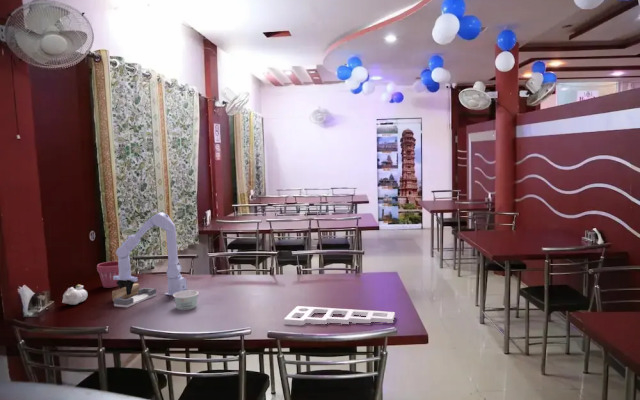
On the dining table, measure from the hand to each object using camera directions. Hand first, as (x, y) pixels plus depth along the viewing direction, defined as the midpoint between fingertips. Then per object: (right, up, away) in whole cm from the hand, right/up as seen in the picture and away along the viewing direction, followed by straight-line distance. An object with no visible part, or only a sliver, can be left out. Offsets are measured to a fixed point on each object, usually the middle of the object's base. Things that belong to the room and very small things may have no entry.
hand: (126, 293), depth 248 cm
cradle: (+8, -2, -7) cm, 11 cm away
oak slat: (0, -2, 0) cm, 2 cm away
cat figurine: (-22, -3, -9) cm, 24 cm away
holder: (+111, -3, -45) cm, 119 cm away
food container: (+37, -3, -20) cm, 42 cm away
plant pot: (-18, 0, +23) cm, 29 cm away
